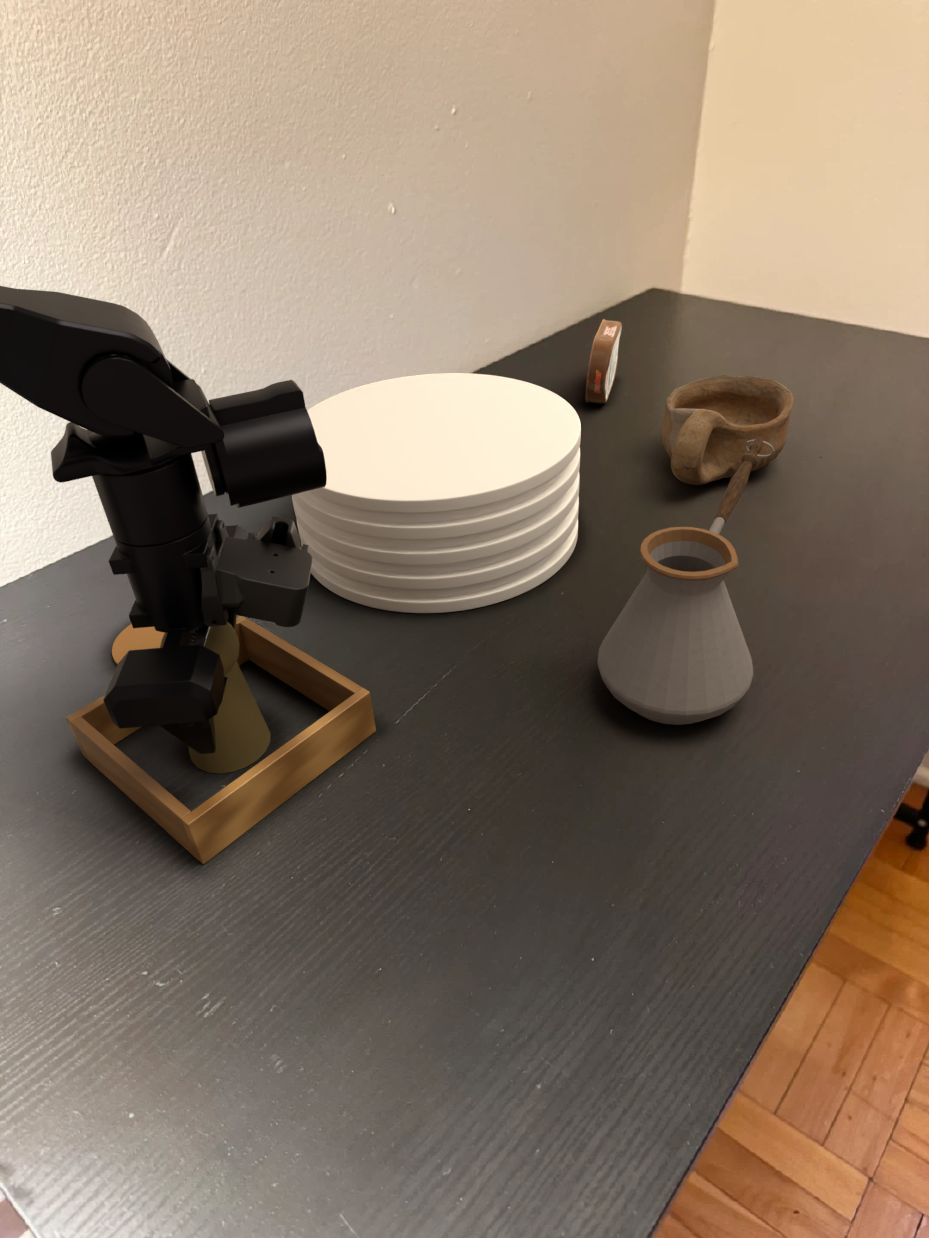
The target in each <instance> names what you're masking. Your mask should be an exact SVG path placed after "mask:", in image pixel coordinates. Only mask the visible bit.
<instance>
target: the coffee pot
mask: <svg viewBox="0 0 929 1238" xmlns="http://www.w3.org/2000/svg"><path fill="white" fill-rule="evenodd" d="M750 442H753V443H752V444H751V445H750V448H749V449H748V447H747V444H748V443H750ZM762 443H764V444H766V445H768V446H769V447H771V449H772V451H773V452H774V448H773V446H772V445H771V444H769V443H768V442H766V441H763V438H761V437H757V438H756V439H753V440H749V441H747V443H746V445H745V448H746V450H747V451H748V454H745V455H743V456H742V459H741V460H742V464H741V466H740V467H739V469H738V470H737V471H736V473H735V474H734V475H733V476H732V477H730V479H729V483H728V485H727V488H726V490H725V492H724V495H723V497H722V499H721V502H720V504H719V506H718V509H717V511H716V514H715V516H714V520H713V522H712V524H711V526H710V528H709V530H707V529H705V528H700V527H693V526H671V527H665V528H662V529H659V530H656V531H654V532H651V533H650V534H649V535H648V536H646V537H645V538H644V539H643V541H642V543H641V544H640V546H639V556H640V557H641V560H642V562H643V563H644V564H645V565H646V570H647V571H646V573H645V574H644V576H643V577H642V579H641V580H640V581H639V583H638V585H637V586H636V588H635V589H634V591H633V592H632V594H631V596H630V597H629V599H628V600H627V602H626V603H625V605H624V606H623V608H622V610H621V612H620V613H619V614H618V616H617V618H616V619H615V621H614V623H613V624H612V626H611V627H610V629H609V631H607V633H606V635H605V637H604V639H603V640H602V642H601V644H600V646H599V647H598V652H597V660H596V661H597V662H596V663H597V668H598V670H599V673H600V676H601V680H602V681H603V683H604V685H605V686H606V688H607V690H608V691H609V693H611V695H612V696H613V698H614V699H615V700H617V701H618V702H620V703H621V704H622V705H624V706H625V707H626V708H627V709H629V710H630V711H632V712H635V713H637V714H638V715H639V716H641V717H643V718H646V719H647V720H649V721H653V722H657V723H661V724H665V725H675V726H682V725H692V724H695V723H699V722H704V721H706V720H709V719H712V718H716V717H719V716H721V715H722V714H724V713H726V712H728V711H729V710H731V709H733V708H734V707H735V706H736V705H737V704H738V703H739V702H740V701H741V700H742V699H743V697H744V696H745V694H746V693H747V692H748V691H749V690H750V688H751V684H752V681H753V678H754V666H753V659H752V656H751V653H750V650H749V647H748V645H747V642H746V639H745V636H744V633H743V630H742V628H741V625H740V623H739V620H738V619H739V618H738V617H737V614H736V611H735V608H734V606H733V602H732V599H731V598H730V594H729V591H728V589H727V586H726V583H725V581H724V580H725V579H726V578H727V577H728V576H729V575H730V574H731V573H732V572H733V571H735V570H736V569H738V567H739V558H738V555H737V551H736V549H735V547H734V546H733V544H732V543H731V542H730V541H729V540H728V539H727V538H725V537H724V536H722V535H721V532H722V530H723V528H724V525H725V523H727V521H728V519H729V517H730V516H731V514H732V512H733V511H734V509H735V507H736V505H737V503H738V501H739V499H740V498H741V497H742V494H743V493H744V491H745V489H746V488H747V485H748V482H749V477H750V474H751V472H752V471H751V468H752V467H753V466H755V465H756V464H757V462H758V460H757V457H769V456H772V454H773V452H772V453H771V454H768V455H759V454H758V453H759V452H760V451H761V448H762ZM756 456H757V457H756Z"/></svg>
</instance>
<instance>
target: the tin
mask: <svg viewBox="0 0 929 1238" xmlns="http://www.w3.org/2000/svg"><path fill="white" fill-rule="evenodd" d="M622 331H623V324H622V322H621V321H617V320H609V319H608V320H607V319H605V318H603V319H602V320H601V322H600V325H599V326H598V329H597V332H596V333H595V336H594V338H593V341H592V345H591V350H590V354H589V359H588V365H587V374H586V383H585V396H584V398H585V402H586V403H594V404H606V403H607V401H608V399H609V397H610V394H611V391H612V388H613V385H614V382H615V380H616V379H615V378H616V374H617V368H618V362H619V346H620V339H621V338H620V337H621V336H622Z"/></svg>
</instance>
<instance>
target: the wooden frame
mask: <svg viewBox="0 0 929 1238" xmlns="http://www.w3.org/2000/svg"><path fill="white" fill-rule="evenodd" d="M236 634H237V636H238V640H239V655H238V659H237V660H236V661H237V663H238V665H239V667H240V666H241V665H243V664H245V663H246V662H248V661H250V662H252V663H253V664H255V665H256V666H258V667H260V668H261V669H263V670H264V671H266V672H267V673H269V674H270V675H272V676H274V677H275V678H276V679H278V680H280V681H282V682H283V683H284V684H286V685H288V686H289V687H291V688H293V689H294V690H296V691H297V692H298V693H300V694H302V695H303V696H304V697H306V698H308V699H309V700H311V701H313V702H314V703H315V704H317V705H319V706H320V707H322V708H323V709H325V710H326V711H328V712H327V713H325V714H324V715H323V716H322V717H320V718H319V719H317V720H316V721H314V722H313V723H312V724H311V725H309V726H307V727H306V728H304V729H303V730H302V731H301V732H300V733H298V734H297V735H295V736H294V737H292V738H291V739H290V740H288V741H287V742H286V743H284V744H283V745H281V746H280V747H278V748H277V749H275V750H274V751H273V752H272V753H270V754H269V755H268V756H266V757H265V758H264V759H262V760H260V761H259V762H257V764H255V765H254V766H252V767H251V768H250V769H248V770H246V771H245V772H244V773H242V774H241V775H240V776H238V777H237V778H235V779H234V780H233V781H231V782H230V783H229V784H227V785H225V787H223V788H222V789H220V790H219V791H218V792H216V793H215V794H214V795H212V796H211V797H209V798H208V799H207V800H205V801H204V802H202V803H201V804H199V805H198V806H197V807H196V808H194V809H192V810H190V809H189V808H188V807H187V806H185V804H183V803H182V802H181V801H180V800H179V799H177V798H176V796H174V795H173V794H172V793H170V791H168V789H166V788H165V787H164V786H162V784H160V783H159V782H158V781H157V780H155V779H154V778H153V777H152V776H151V775H150V774H149V773H147V772H146V771H145V770H144V769H143V768H141V767H140V766H139V765H138V764H137V763H136V762H135V761H134V760H132V759H131V758H130V757H129V756H128V755H126V754H125V753H124V752H123V751H122V750H121V749H120V748H118V747H117V746H115V745H116V744H117V743H120V741H122V740H124V739H125V738H127V737H128V736H130V735H131V734H133V733H135V732H136V731H138V730H139V729H142V727H133V728H122V729H120V728H118V727H117V726H116V725H115V724H114V723H113V722H112V720H111V717H110V715H109V713H108V710H107V708H106V705H105V703H104V701H103V699H104V697H105V694H103V695H101V696H100V697H98V698H97V699H95V700H94V701H92V702H90V703H88V704H87V705H85V706H83V707H81V708H79V709H78V710H77V711H75V712H73V713H71V714H69V715H68V716H66V717H65V719H66V721H67V724H68V726H69V728H70V730H71V732H72V735H73V736H74V739H75V741H76V743H77V746H78V747H79V749H80V752H81V754H82V756H83V757H84V758H85V759H86V760H87V761H88V762H89V763H90V764H92V765H93V766H94V767H95V768H96V769H97V770H98V771H99V772H101V773H102V775H104V776H105V777H106V778H107V780H109V781H110V782H111V783H113V785H114V786H116V787H117V788H118V789H119V790H120V792H122V793H124V795H126V797H128V798H129V799H130V800H131V801H132V802H134V803H135V804H136V806H137V807H139V808H140V809H141V810H142V811H143V812H144V813H145V814H147V815H148V816H149V817H150V818H151V819H152V820H153V821H154V822H155V823H156V824H158V825H159V826H160V827H161V828H162V829H163V830H164V831H165V832H166V833H168V835H170V836H171V837H172V838H173V839H174V840H175V841H176V842H177V843H178V844H179V845H180V846H182V847H183V848H184V849H185V850H186V851H187V852H188V853H190V854H191V855H192V856H193V857H194V858H195V859H196V860H197V861H198V862H200V863H201V864H202V865H205V864H207V863H208V862H209V861H210V860H212V859H213V858H214V857H215V856H217V855H218V854H219V853H220V852H222V851H223V850H225V848H226V849H227V847H229V846H230V845H231V844H232V843H233V842H235V841H236V840H237V839H239V838H240V837H242V836H243V835H244V834H245V833H246V832H248V831H249V830H250V829H252V828H253V827H254V826H255V825H257V824H258V823H260V822H261V821H262V820H264V818H266V817H268V815H270V814H271V813H273V812H274V811H275V810H277V808H279V807H280V806H281V805H283V804H284V803H285V802H287V801H288V800H289V799H290V798H292V797H293V796H294V795H295V794H297V793H299V791H301V790H302V789H304V787H306V786H307V785H309V784H310V783H311V782H312V781H314V780H315V779H317V778H318V777H319V776H320V775H322V774H323V773H324V772H325V771H326V770H328V769H330V768H331V767H332V766H333V765H335V764H336V763H337V762H338V761H340V760H341V759H342V758H343V757H345V756H346V755H347V754H348V753H350V752H351V751H352V750H354V749H355V748H357V747H358V746H359V745H360V744H362V743H363V742H364V741H365V740H367V739H368V738H369V737H370V736H372V735H373V734H374V733H376V732H377V727H376V721H375V715H374V710H373V704H372V703H373V702H372V696H371V692H370V691H369V690H367V689H366V688H365V687H363V686H361V685H359V684H357V682H355V681H353V680H351V679H349V678H348V677H346V676H344V675H343V674H341V673H339V672H337V671H335V670H334V669H333V668H331V667H329V666H327V665H326V664H325V663H323V662H321V661H319V660H318V659H316V658H314V657H312V655H309V654H308V653H306V652H304V651H303V650H301V649H299V648H297V647H296V646H294V645H293V644H291V643H289V642H287V641H286V640H284V639H283V638H280V636H277V635H275V634H274V633H272V632H271V631H269V630H267V629H266V628H264V627H262V626H261V625H259V624H257V623H255V622H254V621H252V620H251V619H250V618H248V617H243V616H239V615H237V616H236Z"/></svg>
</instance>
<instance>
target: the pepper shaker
mask: <svg viewBox="0 0 929 1238" xmlns="http://www.w3.org/2000/svg"><path fill="white" fill-rule="evenodd" d="M166 636H167V633H165V634H164V635H163V638H162V641H161V645H160V648H162V647H163V644H164V642H165V639H166ZM206 647H207V648H209V649H210V650H212V651H214V652H216V653H217V654H219V655H220V657H221V661H222V664H223V667H224V677H228V680H227V684H226V688H225V692H224V696H223V700H222V703H221V705H220V707H219V709H218V713H217V715H215V716H214V717H213V718H214V727H215V738H216V750H215V752H214V753H208V754H200V753H198V752H197V751H195V750H194V749H192V748H191V747H189V746H188V745H187V747H188V754H189V757H190V761H191V763H192V764H193V765H195V767H196V768H198V770H202V771H204V772H206V773H210V774H227V773H234V772H237V771H239V770H243V769H245V768H247V767H249V766H251V765H252V764H253V763H256V762H257V761H258V760H259V759H260V758H261V757H262V756H263V755H264V754H265V753H266V752H267V750H268V747H269V745H270V744H271V731H270V728H269V727H268V724H267V723H266V720H265V718H264V716H263V714H262V712H261V709H260V707H259V705H258V703H257V701H256V699H255V697H254V695H253V693H252V690H251V688H250V687H249V684H248V682H247V680H246V678H245V676H244V674H243V672H242V670H241V667H240V666H239V665H238V663H237V661H236V660H237V659H238V655H239V640H238V636H237V634H236V632H235V630H234V628H233V627H232V625H231V624H230V623H228V622H227V625H220V626H212V628H211V631H210V635H209V638H208V641H207V645H206Z"/></svg>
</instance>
